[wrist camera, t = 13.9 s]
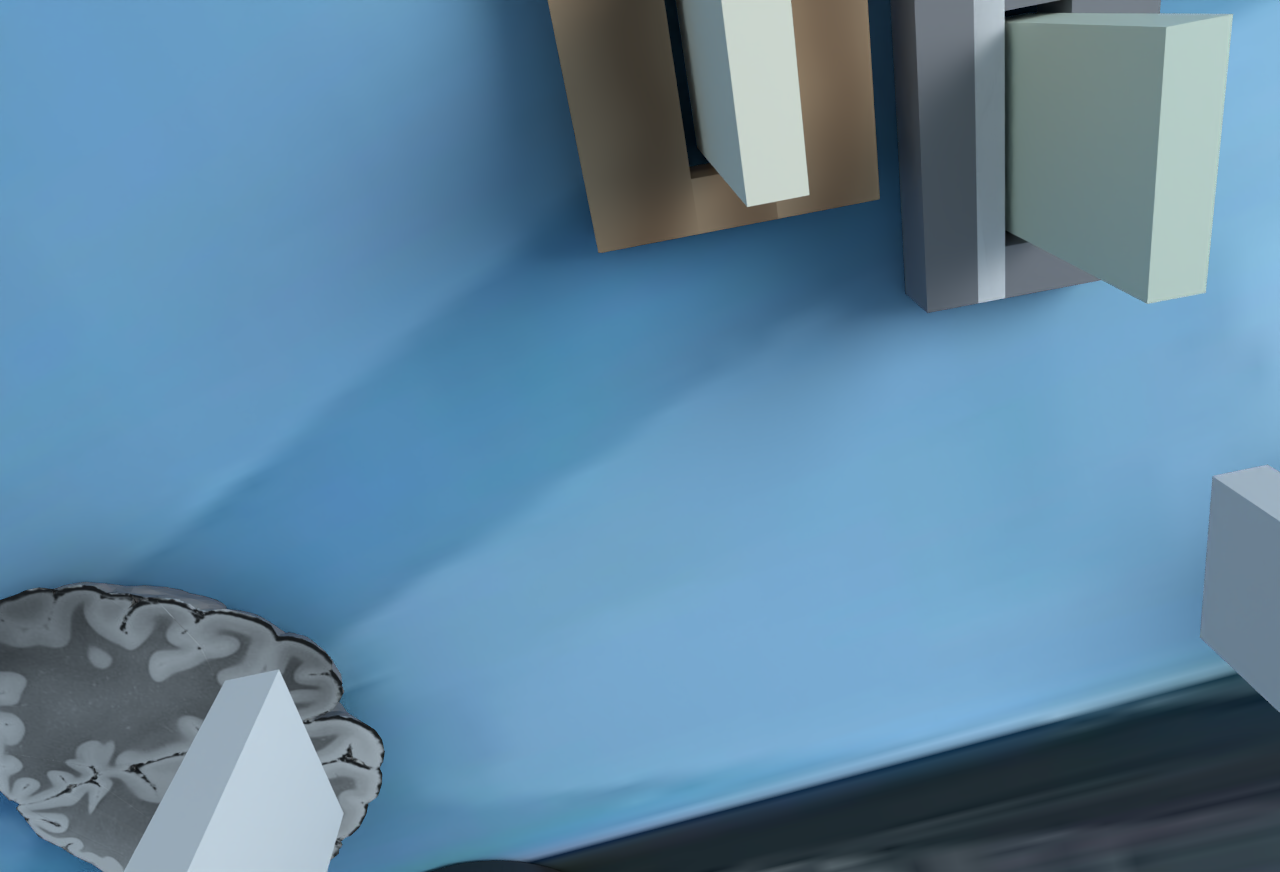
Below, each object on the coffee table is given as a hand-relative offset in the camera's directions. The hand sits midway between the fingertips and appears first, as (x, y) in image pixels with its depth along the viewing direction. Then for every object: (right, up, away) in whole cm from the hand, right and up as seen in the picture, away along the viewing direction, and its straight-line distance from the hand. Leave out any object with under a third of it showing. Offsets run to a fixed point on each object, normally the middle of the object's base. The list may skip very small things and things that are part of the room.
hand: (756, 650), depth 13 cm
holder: (+1, +17, +18) cm, 25 cm away
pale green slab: (+1, +17, +18) cm, 25 cm away
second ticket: (+12, +15, +20) cm, 28 cm away
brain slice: (-22, -10, +30) cm, 39 cm away
